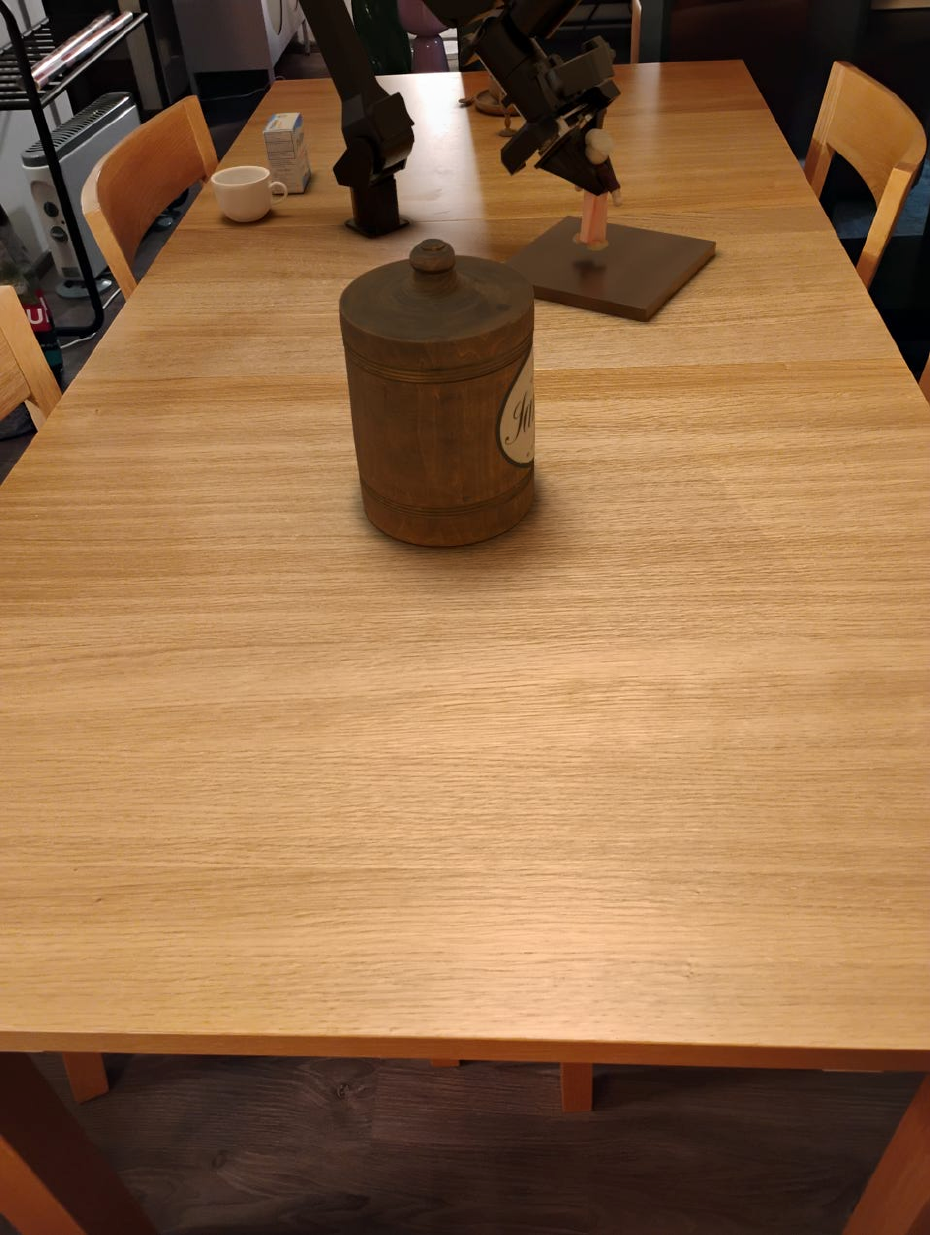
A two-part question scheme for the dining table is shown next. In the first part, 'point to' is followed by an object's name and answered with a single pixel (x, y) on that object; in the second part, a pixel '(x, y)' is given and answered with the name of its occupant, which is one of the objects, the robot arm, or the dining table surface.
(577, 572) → the dining table surface
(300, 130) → the medicine box
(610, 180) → the grandmother figurine
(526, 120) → the robot arm
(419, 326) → the wooden container
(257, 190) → the teacup
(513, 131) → the place setting
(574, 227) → the stand board
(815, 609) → the dining table surface
